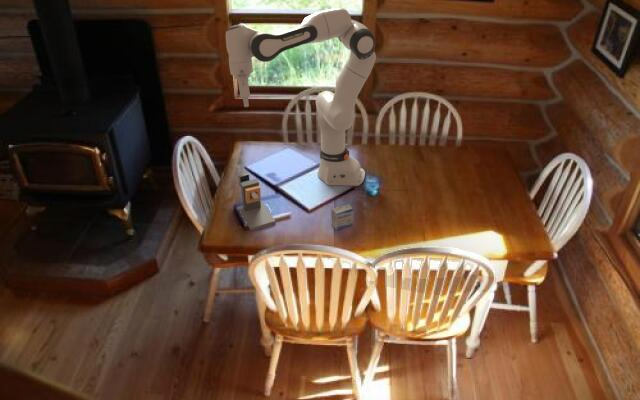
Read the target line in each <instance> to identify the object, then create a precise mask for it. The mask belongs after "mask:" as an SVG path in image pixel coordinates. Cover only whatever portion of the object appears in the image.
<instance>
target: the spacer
mask: <svg viewBox="0 0 640 400" xmlns="http://www.w3.org/2000/svg"><path fill="white" fill-rule="evenodd" d="M252 192H256V194H257V196H258V197H259V198H258V200H254V198H253V197H250V193H252ZM245 199H246V202H247V204H248V203H252V202H256V201H261V199H262V197H261V186H260V184H259V185H257V186H253V187H248V188H245Z"/></svg>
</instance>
